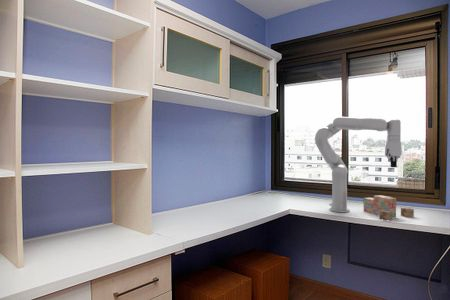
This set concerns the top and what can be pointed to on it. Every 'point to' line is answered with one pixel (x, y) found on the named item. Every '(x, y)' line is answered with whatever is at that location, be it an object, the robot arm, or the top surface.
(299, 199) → the top surface
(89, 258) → the top surface
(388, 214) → the marked walnut cube
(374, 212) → the stack of blocks
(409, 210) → the marked walnut cube
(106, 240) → the top surface
